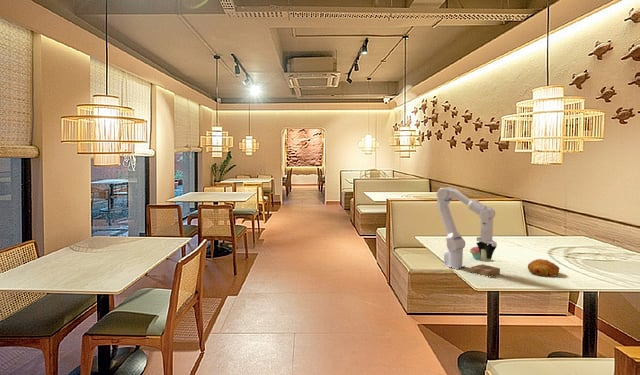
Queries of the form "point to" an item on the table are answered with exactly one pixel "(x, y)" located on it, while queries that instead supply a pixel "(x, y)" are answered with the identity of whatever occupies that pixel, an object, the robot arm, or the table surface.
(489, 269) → the walnut base
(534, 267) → the croissant
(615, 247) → the table surface
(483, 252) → the sage cylinder
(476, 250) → the cupcake
